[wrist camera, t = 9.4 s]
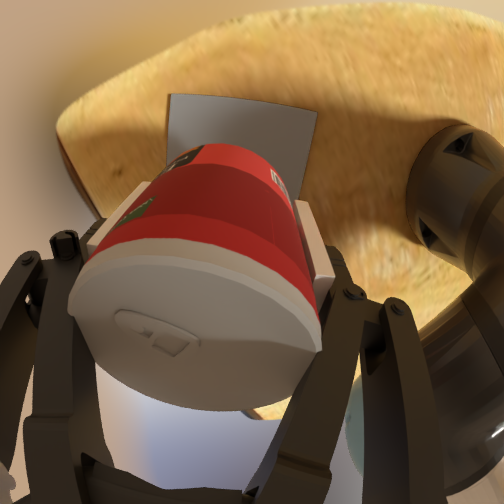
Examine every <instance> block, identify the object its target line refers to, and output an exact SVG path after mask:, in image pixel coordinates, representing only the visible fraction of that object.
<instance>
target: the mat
mask: <svg viewBox="0 0 504 504" xmlns="http://www.w3.org/2000/svg"><path fill="white" fill-rule="evenodd" d="M317 114H318V112H315V111H310V110H306V109H301V108H296V107H291V106H286V105H280V104H275V103H269V102H262V101H255V100H248V99H240V98H232V97H222V96H210V95H195V94H171V102H170V114H169V126H168V142H167V163H166V167H167V166H168V165H169V164H170V163H171V162H172V161H173V160H174V159H175V158H177V157H178V156H179V155H181V154H182V153H183V152H185V151H188V150H190V149H192V148H194V147H197V146H201V145H206V144H220V143H224V144H230V145H235V146H239V147H242V148H245V149H247V150H250V151H252V152H254V153H255V154H257V155H259V156H260V157H262V158H263V159H265V160H266V161H267V162H268V163H269V164H270V165H271V166H272V167H273V168H274V169H275V170H276V172H277V173H278V174H279V176H280V177H281V179H282V180H283V182H284V185H285V187H286V190H287V192H288V195H289V199H290V202H291V206H292V208H293V204H294V200H298V198H299V194H300V190H301V185H302V181H303V177H304V172H305V168H306V164H307V159H308V155H309V151H310V146H311V142H312V137H313V132H314V128H315V123H316V118H317Z"/></svg>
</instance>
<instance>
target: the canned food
mask: <svg viewBox="0 0 504 504" xmlns="http://www.w3.org/2000/svg"><path fill="white" fill-rule="evenodd" d="M67 311H68V313H69V314H70V315H71V316H74V317H75V320H76V322H77V324H78V326H79V328H80V330H81V332H82V334H83V336H84V339H85V341H86V343H87V345H88V347H89V350H90V352H91V354H92V356H93V358H94V361H95V362H96V363H97V364H98V365H99V366H100V367H101V368H102V369H104V370H105V371H106V372H107V373H109V374H110V375H111V376H112V377H114V378H115V379H117V380H118V381H120V382H121V383H123V384H125V385H126V386H128V387H130V388H132V389H134V390H136V391H138V392H140V393H142V394H144V395H146V396H149V397H151V398H154V399H156V400H159V401H162V402H165V403H169V404H172V405H176V406H180V407H185V408H191V409H196V410H205V411H240V410H248V409H254V408H259V407H263V406H267V405H271V404H274V403H276V402H279V401H281V400H284V399H286V398H288V397H290V396H292V395H293V392H294V390H295V388H296V387H297V385H298V383H299V382H300V380H301V378H302V377H303V375H304V373H305V372H306V370H307V368H308V367H309V365H310V363H311V362H312V360H313V358H314V357H315V355H316V353H317V352H319V351H321V350H322V342H321V325H320V320H319V316H318V311H317V306H316V299H315V294H314V290H313V286H312V282H311V278H310V274H309V270H308V266H307V262H306V258H305V254H304V250H303V246H302V242H301V239H300V235H299V231H298V227H297V224H296V220H295V216H294V213H293V209H292V206H291V202H290V199H289V195H288V192H287V190H286V187H285V185H284V182H283V180H282V179H281V177H280V176H279V174H278V173H277V172H276V170H275V169H274V168H273V167H272V166H271V165H270V164H269V163H268V162H267V161H266V160H265V159H263V158H262V157H260V156H259V155H257V154H255V153H254V152H252V151H250V150H247V149H245V148H242V147H239V146H235V145H230V144H224V143H220V144H206V145H201V146H197V147H194V148H192V149H190V150H188V151H185V152H183V153H182V154H181V155H179V156H178V157H177V158H175V159H174V160H173V161H172V162H171V163H170V164H169V165H168V166H167V167H166V168H165V169H164V170H163V171H162V172H161V173H160V174H159V175H158V176H157V177H156V178H155V179H154V180H153V181H152V182H151V183H150V185H149V186H148V187H147V188H146V189H145V190H144V191H143V192H142V193H141V194H140V195H139V197H138V198H137V199H136V200H135V201H134V202H133V203H132V204H131V206H130V207H129V208H128V209H127V210H126V211H125V212H124V214H123V215H122V216H121V217H120V218H119V220H118V221H117V222H116V223H115V224H114V226H113V227H112V228H111V229H110V230H109V232H108V233H107V234H106V235H105V237H104V238H103V239H102V240H101V242H100V243H99V245H98V246H97V248H96V250H95V251H94V252H93V254H92V255H91V256H90V258H89V259H88V260H87V262H86V263H85V265H84V266H83V268H82V270H81V271H80V273H79V275H78V277H77V279H76V281H75V284H74V286H73V288H72V290H71V292H70V294H69V299H68V308H67Z"/></svg>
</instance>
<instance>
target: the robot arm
mask: <svg viewBox="0 0 504 504" xmlns="http://www.w3.org/2000/svg"><path fill="white" fill-rule="evenodd" d="M150 183H151V182H145V181H143V182H142V183H141V184H140V185H139V186H138V187H137V188H136V189H135V190H134V191H133V192H132V193H131V194H130V195H129V196H128V197H127V198H126V199H125V200H124V201H123V202H122V203H121V205H120V206H119V207H118V208H117V209H116V210H115V211H114V212H113V213H112V214H111V216H110V217H109V218H102V219H100V220H98V221H96V222H95V223H94V224H93V225H92V226H91V227H90V229H89V230H88V231H87V232H86V233H85V234H84V235H83V236H82V237H81V239H80V240H79V238H78V234H77V232H75V231H73V230H64V231H60V232H58V233H56V234H55V235H54V236H52V237H51V239H50V245H51V248H52V252H53V256H54V259H48V260H41V257H40V254H39V253H38V252H37V251H27V252H25V253H23V254H22V255H20V256H19V257H18V259H17V260H16V261H15V263H14V264H13V266H12V267H11V269H10V270H9V272H8V273H7V275H6V276H5V278H4V279H3V281H2V283H1V285H0V504H323V503H324V500H325V498H326V495H327V493H328V490H329V487H330V484H331V480H332V473H331V471H330V469H329V468H330V462H331V459H332V456H333V453H334V450H335V447H336V444H337V440H338V437H339V434H340V431H341V427H342V423H343V420H344V416H345V420H346V427H345V434H346V440H347V445H348V449H349V453H350V456H351V458H352V461H353V463H354V465H355V467H356V468H357V470H358V472H359V473H360V474H361V476H362V477H363V493H362V504H504V147H503V146H502V145H501V144H500V143H499V142H498V141H497V140H496V139H495V138H494V137H493V136H491V135H490V134H488V133H487V132H485V131H482V130H480V129H477V128H475V127H472V126H469V125H454V126H450V127H447V128H445V129H443V130H441V131H440V132H438V133H437V134H436V135H435V136H433V137H432V138H431V139H430V140H429V141H428V143H427V144H426V145H425V146H424V148H423V149H422V150H421V152H420V154H419V155H418V157H417V159H416V161H415V163H414V165H413V168H412V171H411V173H410V177H409V181H408V185H407V192H406V211H407V217H408V221H409V224H410V226H411V228H412V230H413V232H414V234H415V235H416V236H417V238H418V239H419V240H420V241H421V243H422V244H423V245H424V246H425V247H426V248H427V249H428V250H429V251H430V252H431V253H432V254H434V255H436V256H438V257H439V258H441V259H443V260H445V261H447V262H449V263H450V264H452V265H454V266H456V267H458V268H459V269H461V270H463V271H465V272H466V273H467V274H468V275H469V277H470V278H471V279H472V281H473V283H472V284H471V285H470V286H469V287H468V288H467V289H466V290H465V291H464V292H463V293H462V294H461V295H459V296H458V297H457V298H456V299H455V300H454V301H453V302H452V303H451V304H450V305H449V306H448V307H446V308H445V309H444V310H443V311H442V312H441V313H440V314H438V315H437V316H436V317H435V318H434V319H433V320H431V321H430V322H429V323H428V324H427V325H425V326H424V327H423V328H422V329H420V330H419V331H417V328H416V324H415V321H414V318H413V315H412V312H411V310H410V308H409V306H408V305H407V304H406V303H405V302H404V301H402V300H401V299H398V298H395V297H390V298H387V299H386V300H385V302H384V304H380V303H377V302H374V301H371V300H369V299H367V295H366V293H365V291H364V290H363V289H362V288H361V287H359V286H357V285H356V284H354V283H353V281H352V278H351V276H350V273H349V271H348V268H347V267H346V264H345V261H344V259H343V256H342V254H341V253H340V252H339V251H338V250H337V249H336V247H333V246H326V245H324V243H323V240H322V238H321V235H320V232H319V230H318V227H317V224H316V222H315V219H314V217H313V214H312V212H311V209H310V207H309V204H308V202H306V201H300V200H294V204H293V208H292V209H293V213H294V216H295V220H296V224H297V227H298V231H299V235H300V239H301V242H302V246H303V250H304V254H305V258H306V262H307V266H308V270H309V274H310V278H311V282H312V286H313V290H314V294H315V299H316V306H317V311H318V316H319V320H320V325H321V342H322V350H321V351H319V352H317V353H316V355H315V357H314V358H313V360H312V362H311V363H310V365H309V367H308V368H307V370H306V372H305V373H304V375H303V377H302V378H301V380H300V382H299V383H298V385H297V387H296V388H295V390H294V392H293V395H292V397H291V399H290V402H289V404H288V407H287V409H286V411H285V413H284V416H283V418H282V420H281V423H280V425H279V427H278V429H277V432H276V434H275V436H274V438H273V440H272V442H271V444H270V446H269V448H268V450H267V452H266V454H265V456H264V458H263V461H262V462H261V464H260V466H259V468H258V470H257V471H256V473H255V474H254V476H253V477H252V479H251V481H250V482H249V484H248V486H247V488H246V490H245V491H244V493H243V494H242V490H229V489H216V488H207V487H203V488H202V487H201V488H189V489H172V490H171V489H170V490H168V489H167V490H166V489H162V488H159V487H157V486H155V485H153V484H150V483H148V482H146V481H144V480H142V479H140V478H138V477H136V476H134V475H132V474H131V473H129V472H126V471H122V470H119V469H116V468H115V467H114V463H113V460H112V457H111V454H110V452H109V450H108V448H107V446H106V443H105V439H104V434H103V429H102V422H101V417H100V409H99V401H98V393H97V382H96V369H95V361H94V358H93V356H92V354H91V352H90V350H89V347H88V345H87V343H86V341H85V339H84V336H83V334H82V332H81V330H80V328H79V326H78V324H77V322H76V320H75V317H74V316H71V315H70V314H69V313H68V311H67V308H68V299H69V294H70V292H71V290H72V288H73V286H74V284H75V281H76V279H77V277H78V275H79V273H80V271H81V270H82V268H83V266H84V265H85V263H86V262H87V260H88V259H89V258H90V256H91V255H92V254H93V252H94V251H95V250H96V248H97V246H98V245H99V243H100V242H101V240H102V239H103V238H104V237H105V235H106V234H107V233H108V232H109V230H110V229H111V228H112V227H113V226H114V224H115V223H116V222H117V221H118V220H119V218H120V217H121V216H122V215H123V214H124V212H125V211H126V210H127V209H128V208H129V207H130V206H131V204H132V203H133V202H134V201H135V200H136V199H137V198H138V197H139V195H140V194H141V193H142V192H143V191H144V190H145V189H146V188H147V187H148V186H149V185H150ZM27 295H28V297H29V299H30V300H29V302H28V303H26V301H25V299H26V297H27ZM359 354H360V364H361V375H359V377H358V378H357V379H356V380H355V382H354V383H353V380H354V375H355V370H356V365H357V360H358V355H359ZM33 365H34V373H33V374H34V375H33V401H32V402H33V403H32V405H33V406H32V408H33V409H32V414H31V415H30V416H28V417H26V418H25V420H24V422H23V442H24V454H25V462H26V470H27V477H28V483H29V488H30V494H28V495H26V496H25V497H23V498H21V499H19V500H18V501H16V502H14V503H13V502H12V499H11V496H10V490H13V489H15V487H16V482H15V480H14V478H13V477H12V476H11V475H9V473H8V472H9V469H10V467H11V463H12V460H13V456H14V451H15V446H16V440H17V433H18V427H19V422H20V416H21V412H22V407H23V402H24V398H25V394H26V390H27V386H28V382H29V379H30V375H31V372H32V368H33ZM352 384H353V385H352Z"/></svg>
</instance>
